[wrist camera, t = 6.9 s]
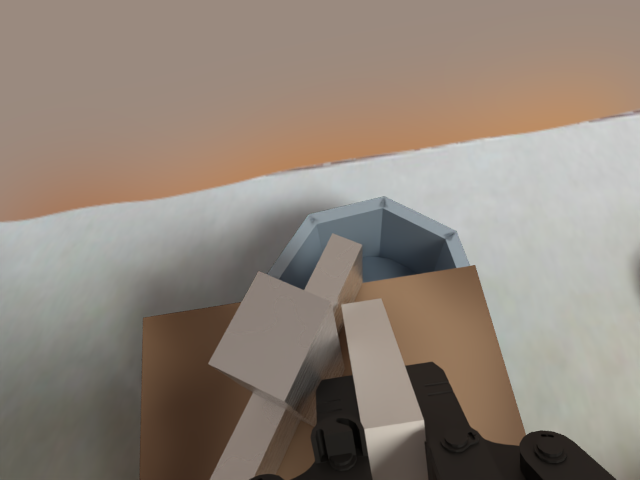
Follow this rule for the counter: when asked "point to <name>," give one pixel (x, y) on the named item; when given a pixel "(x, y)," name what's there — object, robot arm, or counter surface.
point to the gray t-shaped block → (284, 356)
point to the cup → (372, 242)
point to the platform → (415, 347)
